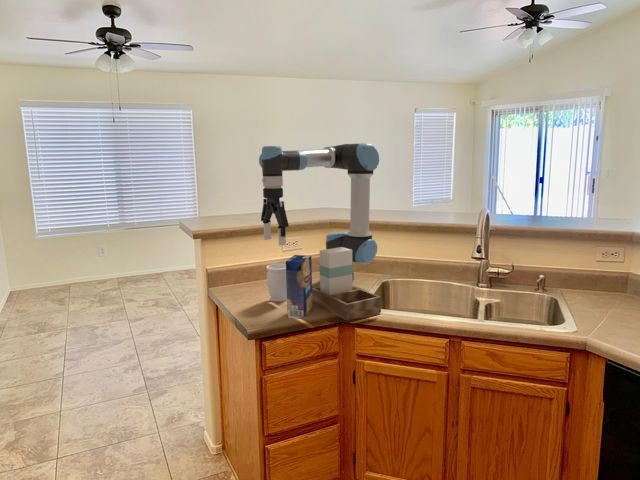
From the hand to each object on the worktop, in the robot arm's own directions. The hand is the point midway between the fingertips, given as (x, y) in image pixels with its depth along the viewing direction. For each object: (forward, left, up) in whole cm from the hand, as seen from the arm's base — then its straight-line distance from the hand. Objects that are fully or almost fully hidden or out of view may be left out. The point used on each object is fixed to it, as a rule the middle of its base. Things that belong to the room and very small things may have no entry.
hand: (274, 242), depth 181 cm
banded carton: (-22, +10, -26) cm, 36 cm away
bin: (-22, +16, -27) cm, 38 cm away
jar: (-6, -9, -28) cm, 30 cm away
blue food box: (-5, +10, -28) cm, 30 cm away
